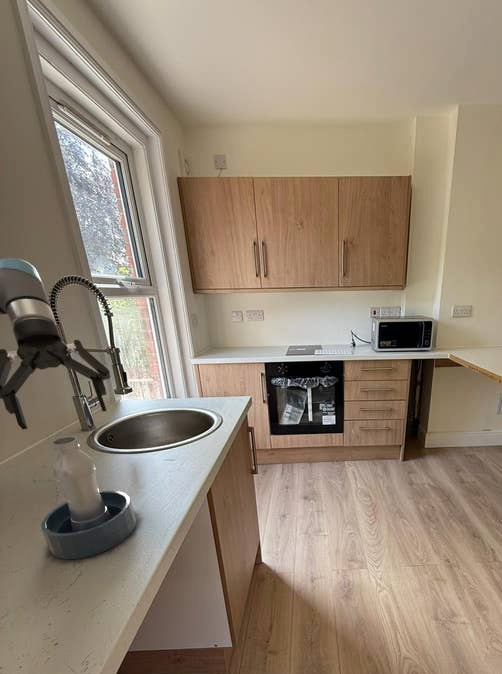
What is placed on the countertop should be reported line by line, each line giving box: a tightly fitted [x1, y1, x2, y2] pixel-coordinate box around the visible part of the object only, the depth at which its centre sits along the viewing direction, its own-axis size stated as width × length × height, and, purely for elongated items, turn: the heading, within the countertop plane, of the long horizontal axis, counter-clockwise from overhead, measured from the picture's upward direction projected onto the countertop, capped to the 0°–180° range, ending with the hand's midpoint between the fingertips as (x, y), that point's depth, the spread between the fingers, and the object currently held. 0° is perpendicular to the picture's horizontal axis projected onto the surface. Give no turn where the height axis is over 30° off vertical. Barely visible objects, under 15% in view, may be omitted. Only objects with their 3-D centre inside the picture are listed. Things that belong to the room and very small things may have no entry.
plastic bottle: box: [51, 435, 111, 532], centre depth 65 cm, size 6×7×20 cm
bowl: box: [40, 489, 137, 560], centre depth 68 cm, size 14×14×6 cm
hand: (65, 417), depth 70 cm, fingers open, 13 cm apart
